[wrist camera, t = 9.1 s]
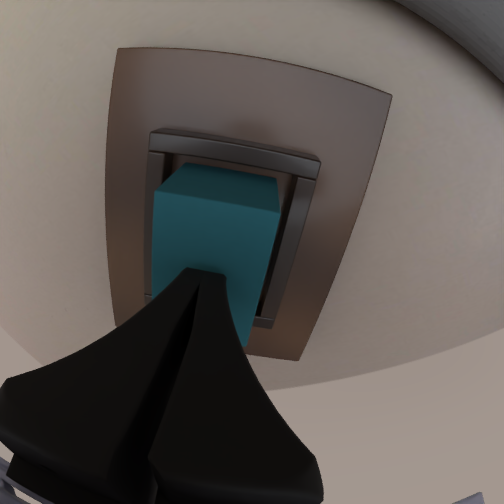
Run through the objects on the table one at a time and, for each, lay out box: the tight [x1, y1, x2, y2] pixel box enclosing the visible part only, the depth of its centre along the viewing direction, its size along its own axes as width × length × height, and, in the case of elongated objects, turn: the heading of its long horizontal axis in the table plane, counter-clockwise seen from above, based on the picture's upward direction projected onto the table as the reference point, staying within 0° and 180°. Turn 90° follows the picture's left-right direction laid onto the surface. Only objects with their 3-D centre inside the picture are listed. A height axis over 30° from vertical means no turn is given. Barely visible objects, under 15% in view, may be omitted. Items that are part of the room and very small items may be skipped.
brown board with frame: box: [105, 47, 392, 361], centre depth 14 cm, size 16×12×2 cm
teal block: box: [152, 162, 281, 347], centre depth 12 cm, size 6×4×4 cm, turn 169°
